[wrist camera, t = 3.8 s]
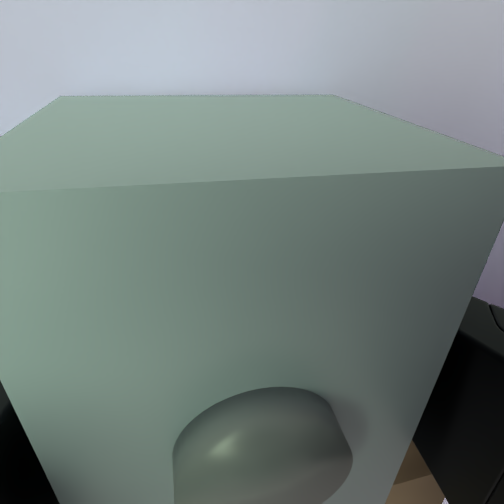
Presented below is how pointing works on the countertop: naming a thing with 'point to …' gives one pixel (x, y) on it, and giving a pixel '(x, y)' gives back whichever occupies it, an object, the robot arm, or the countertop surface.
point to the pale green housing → (232, 292)
